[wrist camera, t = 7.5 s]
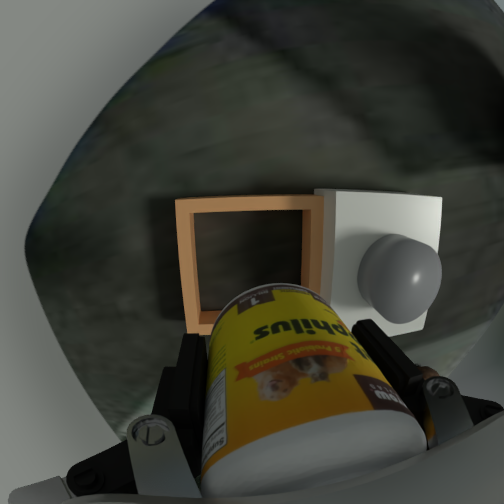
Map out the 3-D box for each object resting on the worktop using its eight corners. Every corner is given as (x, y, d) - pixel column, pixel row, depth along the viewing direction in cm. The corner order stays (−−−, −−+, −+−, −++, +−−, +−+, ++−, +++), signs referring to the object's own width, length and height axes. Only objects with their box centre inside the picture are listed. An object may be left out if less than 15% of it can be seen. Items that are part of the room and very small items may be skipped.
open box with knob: (396, 307, 27) (440, 344, 19) (191, 325, 25) (180, 381, 17) (409, 192, 24) (466, 201, 16) (180, 191, 22) (156, 197, 14)
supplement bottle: (352, 296, 12) (512, 472, 2) (302, 390, 13) (366, 568, 3) (233, 258, 11) (275, 569, 1) (194, 367, 12) (179, 587, 2)
